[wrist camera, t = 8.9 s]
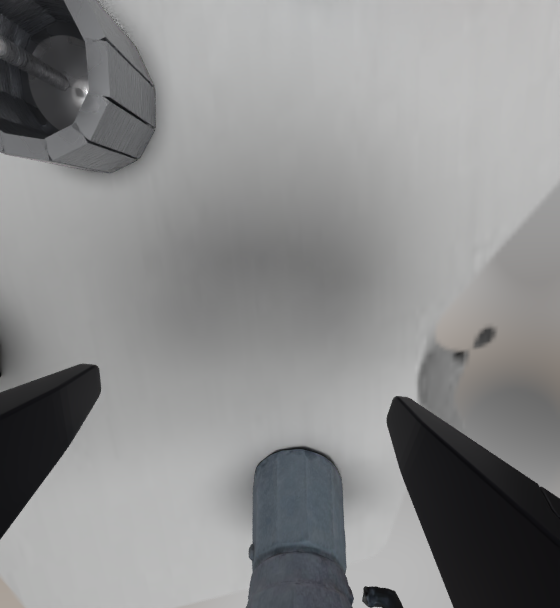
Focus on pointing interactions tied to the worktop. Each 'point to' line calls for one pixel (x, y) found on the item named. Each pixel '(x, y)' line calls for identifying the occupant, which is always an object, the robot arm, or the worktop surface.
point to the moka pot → (302, 537)
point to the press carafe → (98, 102)
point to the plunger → (53, 75)
